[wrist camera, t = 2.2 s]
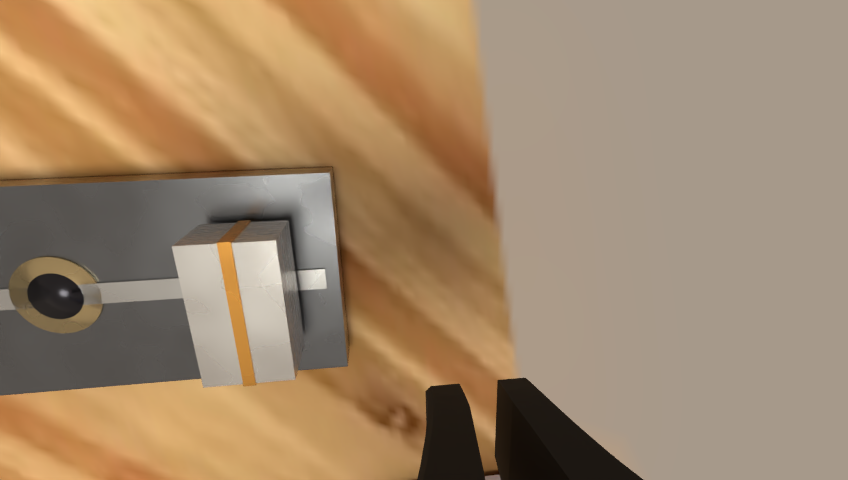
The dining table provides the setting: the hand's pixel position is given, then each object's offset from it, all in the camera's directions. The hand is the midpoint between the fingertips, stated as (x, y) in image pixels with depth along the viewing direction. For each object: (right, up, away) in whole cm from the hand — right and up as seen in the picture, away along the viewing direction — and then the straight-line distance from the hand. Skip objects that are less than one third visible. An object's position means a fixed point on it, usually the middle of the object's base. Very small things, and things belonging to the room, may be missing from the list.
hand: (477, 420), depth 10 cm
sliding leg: (-7, +2, +7) cm, 10 cm away
